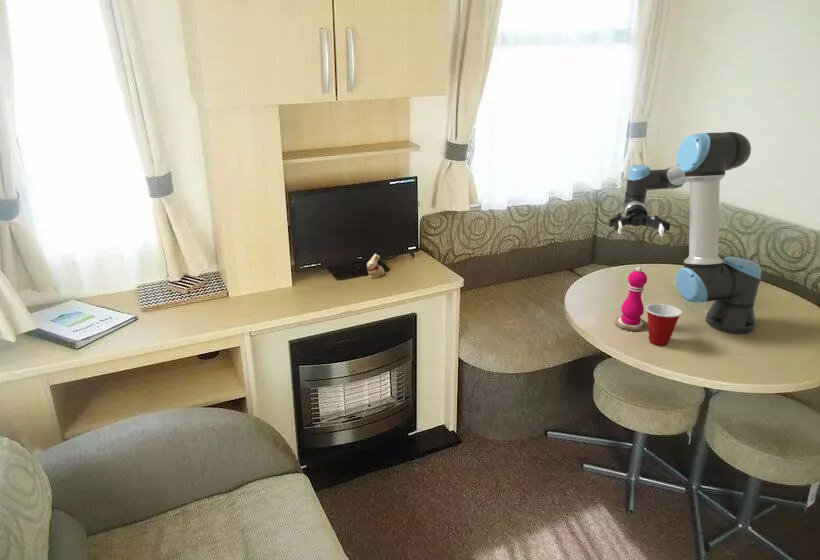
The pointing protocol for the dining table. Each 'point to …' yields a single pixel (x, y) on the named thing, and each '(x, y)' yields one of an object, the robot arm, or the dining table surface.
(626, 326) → the brown cream oval disc
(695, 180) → the robot arm
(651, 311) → the plastic cup
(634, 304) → the pepper mill
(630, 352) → the dining table surface
